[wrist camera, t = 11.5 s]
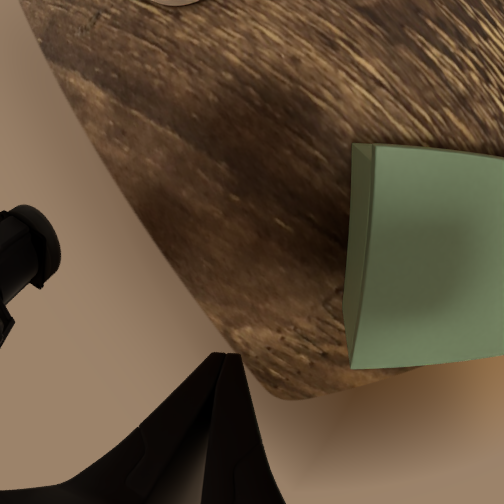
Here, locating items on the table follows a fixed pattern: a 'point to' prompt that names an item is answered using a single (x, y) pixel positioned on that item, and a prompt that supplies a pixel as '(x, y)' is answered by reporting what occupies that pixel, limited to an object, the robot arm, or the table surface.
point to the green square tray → (356, 235)
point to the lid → (431, 259)
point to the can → (175, 2)
